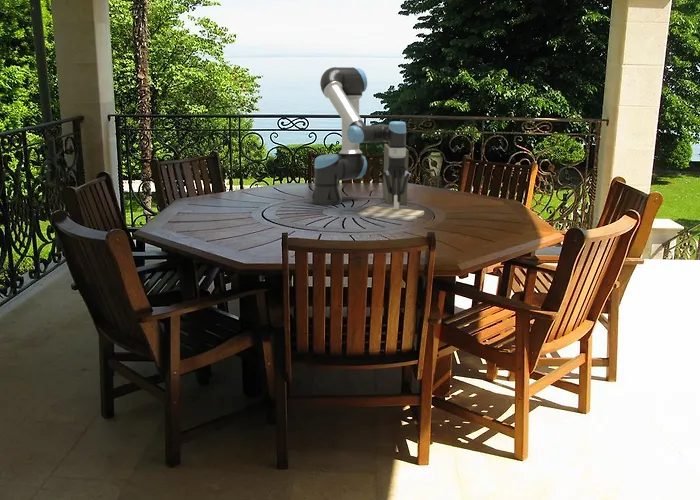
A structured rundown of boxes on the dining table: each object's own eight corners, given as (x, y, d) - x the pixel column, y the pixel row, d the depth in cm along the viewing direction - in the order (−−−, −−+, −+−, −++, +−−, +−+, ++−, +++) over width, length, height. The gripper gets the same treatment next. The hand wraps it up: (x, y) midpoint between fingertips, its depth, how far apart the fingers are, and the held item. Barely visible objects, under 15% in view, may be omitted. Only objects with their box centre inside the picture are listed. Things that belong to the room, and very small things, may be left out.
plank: (363, 214, 301) (363, 210, 300) (370, 209, 309) (370, 205, 308) (417, 219, 290) (417, 215, 290) (424, 214, 298) (424, 210, 298)
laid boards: (356, 217, 295) (356, 213, 294) (362, 214, 300) (362, 210, 299) (412, 222, 284) (412, 218, 284) (416, 220, 289) (416, 216, 289)
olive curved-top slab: (406, 207, 321) (408, 149, 313) (387, 207, 320) (389, 149, 313) (401, 198, 342) (402, 143, 334) (382, 198, 341) (384, 143, 333)
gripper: (380, 157, 294) (380, 209, 300) (408, 158, 289) (407, 211, 295) (386, 155, 301) (386, 206, 307) (413, 156, 296) (412, 208, 302)
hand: (396, 208), depth 301 cm, fingers closed
